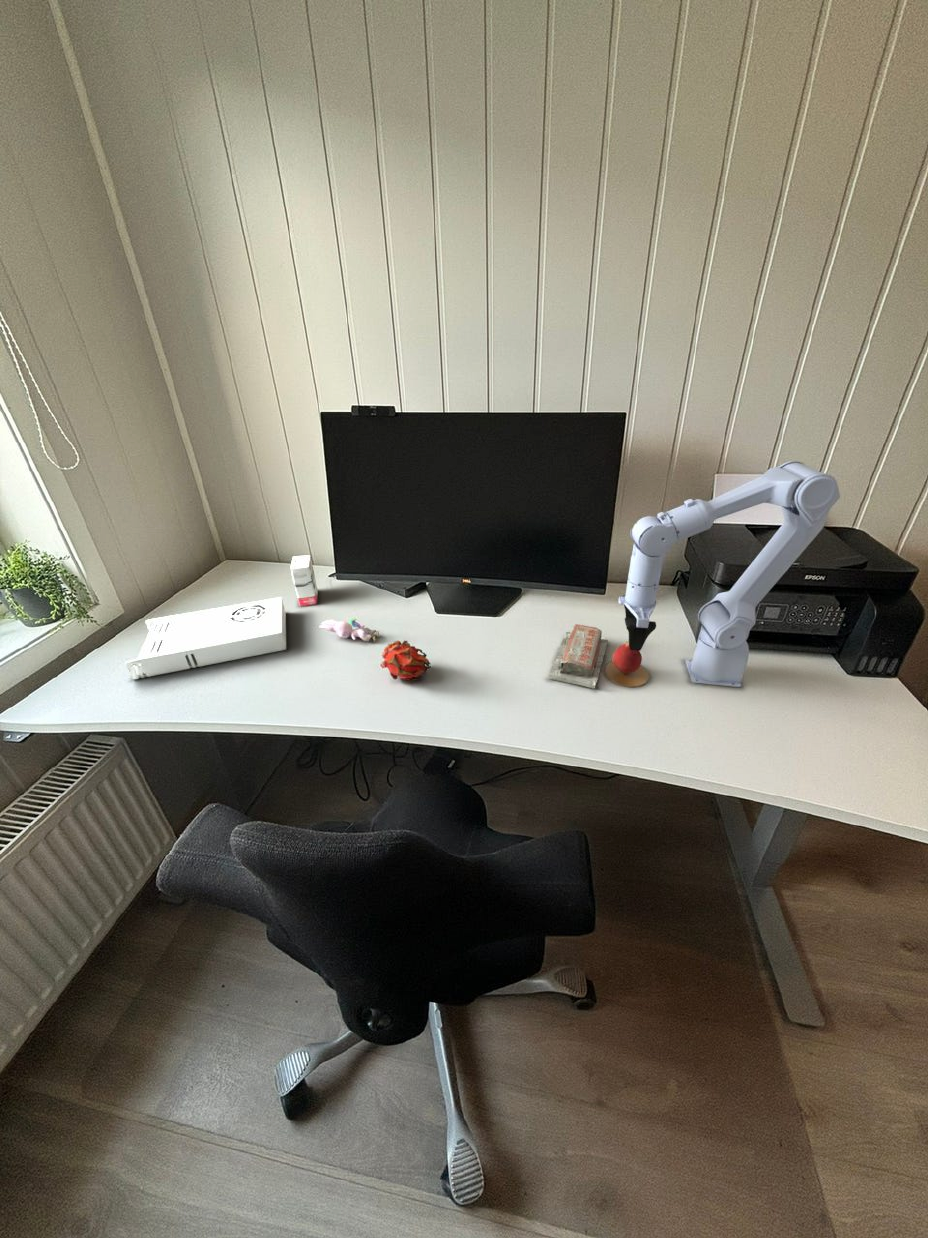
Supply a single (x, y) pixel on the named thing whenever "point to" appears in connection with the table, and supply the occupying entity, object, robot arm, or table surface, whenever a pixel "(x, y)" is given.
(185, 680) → the table surface
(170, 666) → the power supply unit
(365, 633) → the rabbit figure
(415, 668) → the dragon fruit
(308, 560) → the ink box
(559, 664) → the packaged product
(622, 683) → the coaster
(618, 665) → the onion
